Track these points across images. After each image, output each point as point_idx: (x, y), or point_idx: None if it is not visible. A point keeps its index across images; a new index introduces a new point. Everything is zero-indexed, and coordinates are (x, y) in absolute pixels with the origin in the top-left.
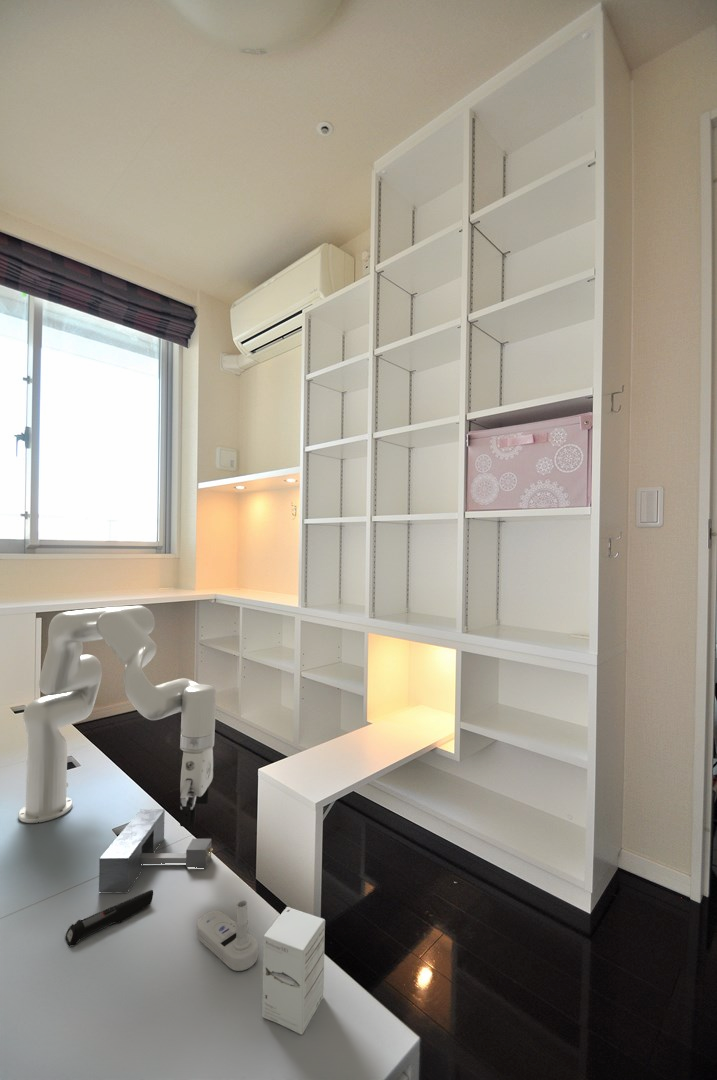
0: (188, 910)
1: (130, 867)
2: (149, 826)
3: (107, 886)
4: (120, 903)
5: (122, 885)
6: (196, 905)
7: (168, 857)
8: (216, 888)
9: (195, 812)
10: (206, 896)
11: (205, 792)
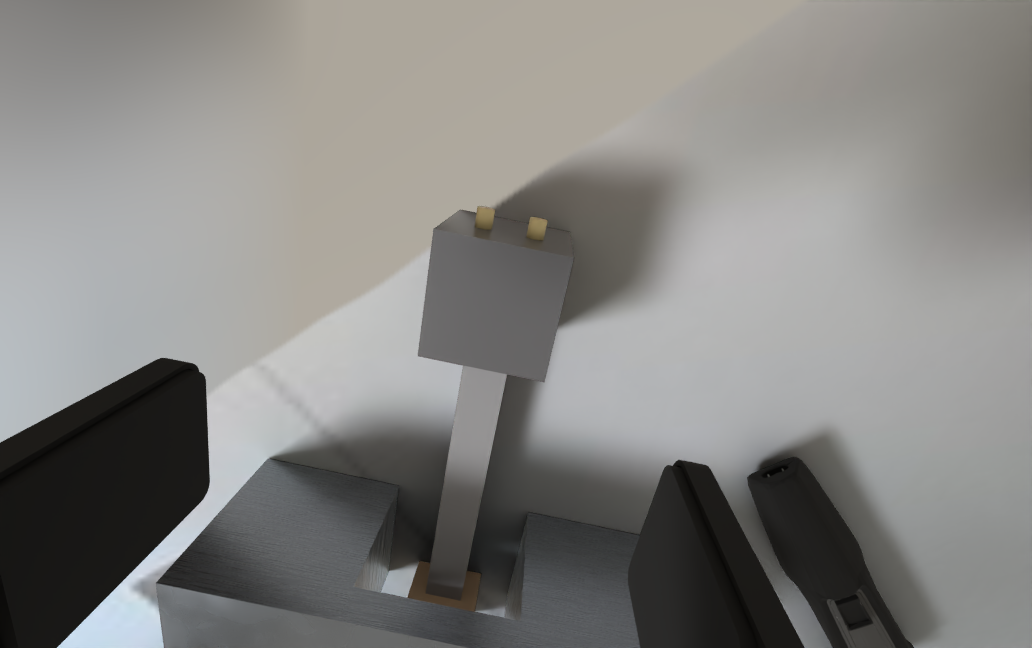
0: (896, 286)
1: None
2: (367, 637)
3: None
4: (831, 586)
5: None
6: (874, 250)
7: (489, 438)
8: (768, 151)
9: (745, 583)
10: (819, 204)
11: (74, 477)
